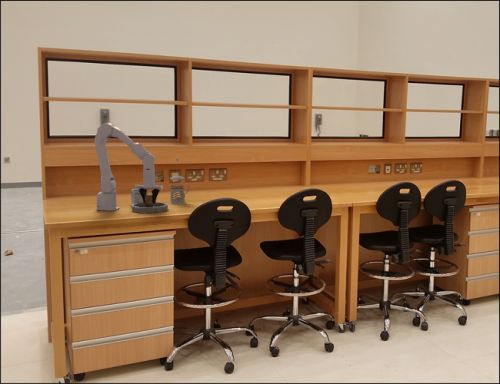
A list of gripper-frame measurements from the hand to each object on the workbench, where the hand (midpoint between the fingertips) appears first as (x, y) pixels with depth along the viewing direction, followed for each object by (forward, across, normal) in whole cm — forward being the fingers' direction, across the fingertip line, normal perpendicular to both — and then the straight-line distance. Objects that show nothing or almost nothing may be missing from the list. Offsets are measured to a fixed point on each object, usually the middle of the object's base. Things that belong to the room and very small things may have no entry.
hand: (149, 203), depth 253 cm
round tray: (+3, 0, 0) cm, 3 cm away
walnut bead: (+2, 0, 0) cm, 2 cm away
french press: (+4, +7, +25) cm, 26 cm away
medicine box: (+4, -12, +14) cm, 19 cm away
